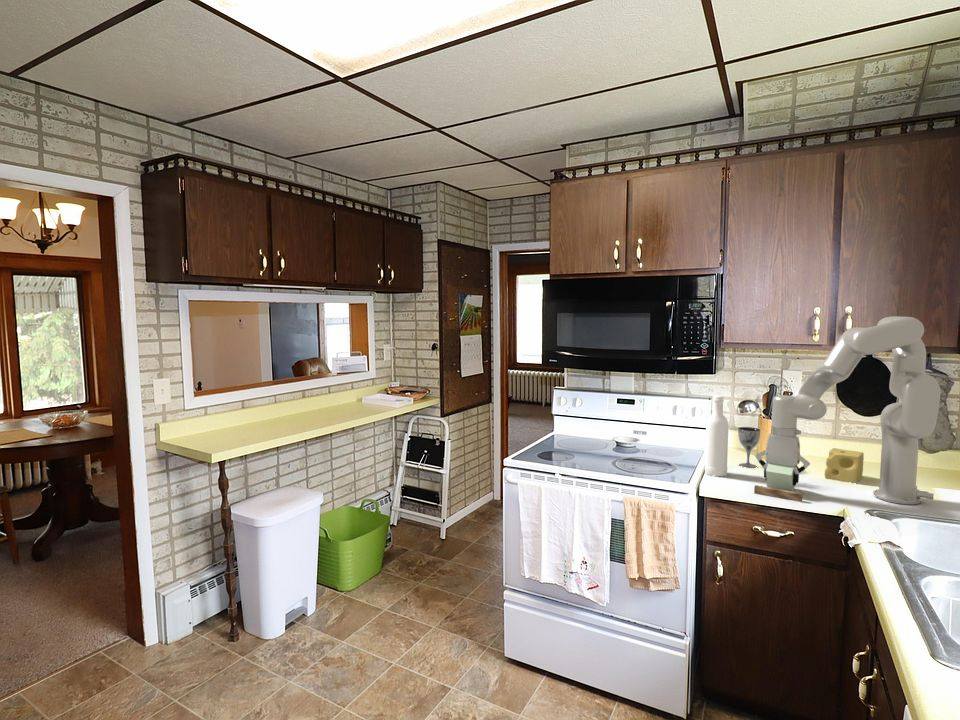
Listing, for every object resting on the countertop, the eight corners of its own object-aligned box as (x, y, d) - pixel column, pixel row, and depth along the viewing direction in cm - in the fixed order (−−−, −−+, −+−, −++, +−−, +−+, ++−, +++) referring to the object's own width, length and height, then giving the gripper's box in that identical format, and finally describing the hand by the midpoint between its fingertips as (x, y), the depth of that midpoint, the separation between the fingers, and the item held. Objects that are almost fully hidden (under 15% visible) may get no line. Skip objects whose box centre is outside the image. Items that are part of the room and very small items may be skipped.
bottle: (704, 469, 215) (706, 394, 213) (726, 471, 213) (728, 394, 210) (704, 475, 208) (707, 397, 205) (727, 477, 205) (730, 398, 203)
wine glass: (756, 469, 215) (758, 432, 214) (735, 466, 220) (736, 429, 219) (760, 465, 221) (762, 428, 220) (739, 462, 226) (740, 426, 225)
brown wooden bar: (802, 500, 180) (802, 493, 180) (801, 502, 179) (801, 494, 178) (755, 492, 189) (755, 485, 188) (754, 493, 187) (754, 486, 187)
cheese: (824, 478, 204) (825, 452, 203) (831, 472, 211) (832, 446, 210) (857, 484, 196) (859, 457, 195) (864, 478, 204) (865, 451, 203)
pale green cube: (796, 478, 191) (795, 459, 187) (792, 494, 186) (791, 475, 182) (772, 474, 196) (770, 455, 192) (767, 489, 191) (765, 470, 187)
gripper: (814, 433, 185) (811, 484, 186) (758, 426, 196) (755, 474, 197) (811, 437, 179) (808, 490, 181) (753, 430, 190) (750, 479, 191)
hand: (780, 481), depth 189 cm, fingers closed on pale green cube, 7 cm apart
